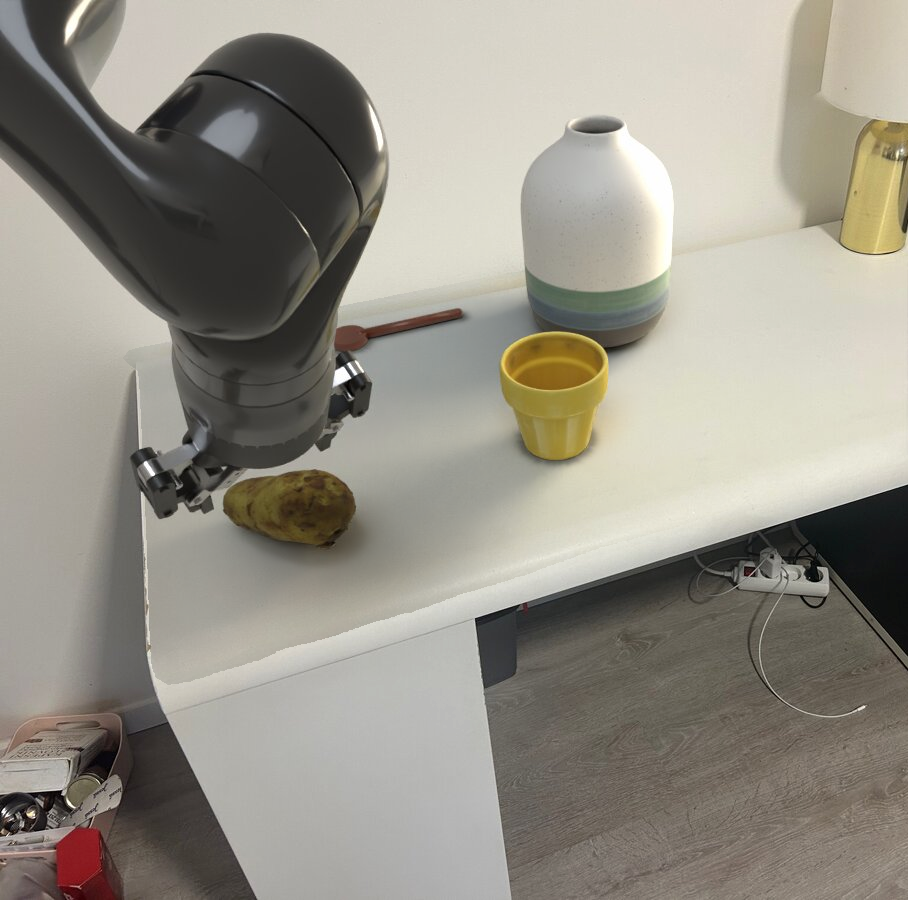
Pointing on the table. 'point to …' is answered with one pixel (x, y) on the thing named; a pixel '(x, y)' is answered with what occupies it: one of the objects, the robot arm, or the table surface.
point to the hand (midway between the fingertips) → (260, 468)
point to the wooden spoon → (386, 329)
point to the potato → (293, 506)
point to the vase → (597, 233)
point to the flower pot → (554, 390)
